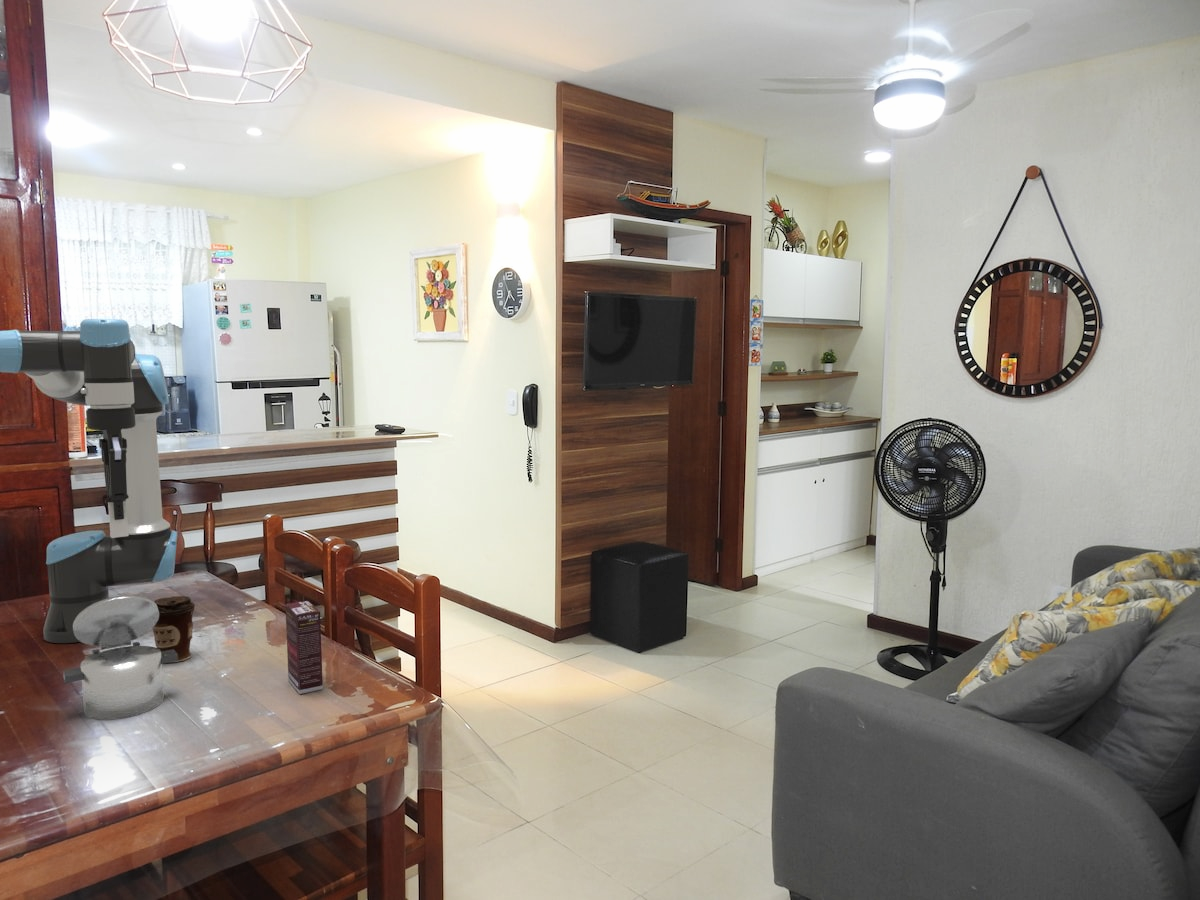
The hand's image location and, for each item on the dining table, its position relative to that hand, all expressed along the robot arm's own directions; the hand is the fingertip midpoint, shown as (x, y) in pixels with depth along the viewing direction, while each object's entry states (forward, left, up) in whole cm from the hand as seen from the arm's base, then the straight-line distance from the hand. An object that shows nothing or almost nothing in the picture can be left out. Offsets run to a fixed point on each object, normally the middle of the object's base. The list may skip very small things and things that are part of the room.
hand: (119, 536), depth 152 cm
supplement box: (+10, +29, -33) cm, 45 cm away
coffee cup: (-21, +11, -32) cm, 40 cm away
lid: (-4, -1, -18) cm, 18 cm away
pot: (-1, -1, -32) cm, 32 cm away
